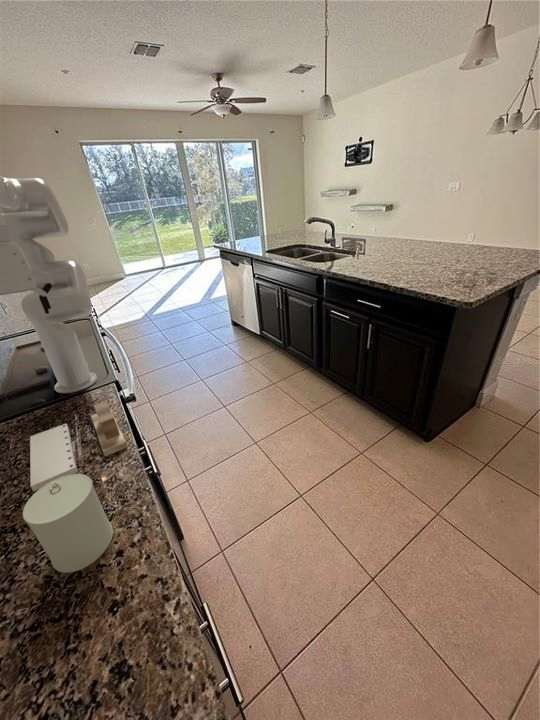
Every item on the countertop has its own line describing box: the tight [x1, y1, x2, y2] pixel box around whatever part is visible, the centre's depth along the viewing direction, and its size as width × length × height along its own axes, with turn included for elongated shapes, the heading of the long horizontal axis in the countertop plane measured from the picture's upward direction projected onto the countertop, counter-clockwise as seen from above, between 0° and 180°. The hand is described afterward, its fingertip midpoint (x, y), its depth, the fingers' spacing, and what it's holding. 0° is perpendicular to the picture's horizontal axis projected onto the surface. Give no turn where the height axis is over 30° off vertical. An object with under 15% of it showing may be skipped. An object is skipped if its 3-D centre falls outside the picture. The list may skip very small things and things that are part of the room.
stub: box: [90, 400, 128, 457], centre depth 76 cm, size 18×5×6 cm, turn 37°
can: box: [22, 473, 114, 574], centre depth 49 cm, size 9×9×12 cm
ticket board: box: [29, 423, 78, 493], centre depth 71 cm, size 20×8×2 cm, turn 37°
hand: (22, 317), depth 70 cm, fingers open, 9 cm apart
